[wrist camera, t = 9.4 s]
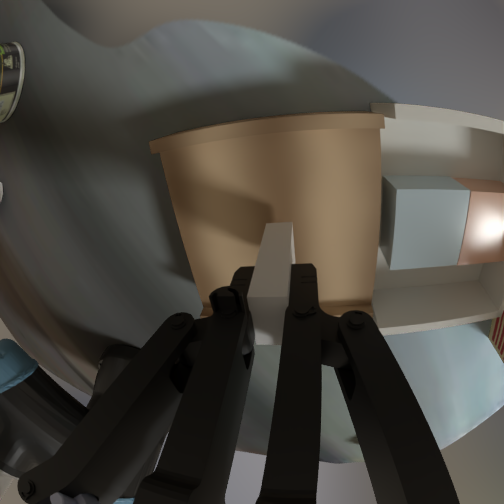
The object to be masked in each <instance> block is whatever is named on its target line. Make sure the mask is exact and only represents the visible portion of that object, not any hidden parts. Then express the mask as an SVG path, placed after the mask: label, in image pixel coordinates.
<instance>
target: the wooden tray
mask: <svg viewBox="0 0 504 504" xmlns="http://www.w3.org/2000/svg"><path fill="white" fill-rule="evenodd" d="M380 129H385V120H384V114H381V113H374V112H367V111H340V112H315V113H299V114H287V115H277V116H268V117H260V118H252V119H245V120H239V121H232V122H226V123H221V124H215V125H210V126H205V127H200V128H195V129H191V130H186V131H182V132H177V133H174V134H171V135H167V136H164V137H161V138H158V139H155V140H152V141H149V146H150V150H151V154H155V153H159V152H160V156H161V161H162V165H163V169H164V173H165V177H166V181H167V185H168V189H169V193H170V197H171V201H172V205H173V208H174V212H175V216H176V219H177V223H178V226H179V230H180V233H181V237H182V240H183V244H184V247H185V251H186V254H187V257H188V260H189V264H190V267H191V270H192V273H193V276H194V280H195V283H196V286H197V289H198V292H199V295H200V298H201V301H202V304H203V307H204V308H203V310H202V313H201V315H200V317H201V318H205V317H209V316H211V315H212V314H213V309H212V306H211V303H210V300H209V295H210V294H211V292H213V291H214V290H215V289H217V288H220V287H223V286H230V283H231V281H232V278H233V275H234V272H235V271H236V270H237V269H239V268H240V267H243V266H255V264H256V260H257V257H258V253H259V249H260V245H261V241H262V238H263V234H264V230H265V226H266V223H280V222H292V225H293V237H294V250H295V264H303V263H312V264H313V265H314V266H315V268H316V269H317V283H318V299H319V306H320V308H321V309H322V310H323V311H324V312H325V313H327V314H329V315H332V316H336V317H340V316H342V315H343V314H344V313H345V312H348V311H351V310H359V311H364V312H366V313H368V314H369V315H370V316H371V317H372V318H373V314H374V313H373V309H372V305H371V303H372V296H373V289H374V282H375V274H376V265H377V255H378V244H379V231H380V214H381V139H380Z"/></svg>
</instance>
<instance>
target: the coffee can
mask: <svg viewBox="0 0 504 504" xmlns="http://www.w3.org/2000/svg"><path fill="white" fill-rule="evenodd" d="M24 74H25V56H24V51H23V48H22V46H21V45H20V44H19V43H17V42H12V43H6V44H0V122H4V121H6V120H8V119H9V118H10V116H11V115H12V113H13V112H14V110H15V108H16V106H17V103H18V101H19V98H20V94H21V91H22V86H23V81H24Z"/></svg>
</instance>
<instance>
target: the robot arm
mask: <svg viewBox="0 0 504 504" xmlns="http://www.w3.org/2000/svg"><path fill="white" fill-rule="evenodd" d="M209 300H210V303H211V306H212V309H213V314H212V315H211V316H209V317H205V318H201V319H196V320H194V318H193V316H192V315H191V314H189V313H183V312H181V313H176V314H174V315H172V316H170V317H169V318H168V319H166V320H165V322H164V323H163V324H162V325H161V326H160V327H159V329H158V330H157V331H156V332H155V333H154V334H153V336H152V337H151V338H150V339H149V340H148V341H147V343H146V344H145V345H144V346H143V347H142V348H141V350H139V349H136V348H133V347H129V346H124V345H112V346H109V347H108V348H107V349H106V350H105V352H104V353H103V355H102V356H101V358H100V360H99V364H98V368H99V370H98V373H97V376H96V380H95V385H94V391H93V395H92V397H91V399H90V401H89V403H88V405H87V407H85V406H83V405H82V404H81V403H80V402H79V401H77V400H76V399H75V398H74V397H72V396H71V395H70V394H69V393H68V392H66V391H65V390H64V389H63V388H62V387H61V386H59V385H58V384H57V383H56V382H55V381H54V380H53V379H52V378H51V377H50V376H49V375H47V374H46V372H45V371H44V370H43V369H42V368H40V366H39V365H38V363H37V361H36V360H35V359H32V358H31V357H30V356H29V355H28V354H27V353H26V352H25V351H24V350H23V349H22V348H21V347H20V346H19V345H18V344H17V343H16V342H14V341H13V340H11V339H2V340H0V501H1V499H2V497H3V496H4V494H5V492H6V491H7V489H8V487H9V485H10V484H11V482H12V481H13V479H18V491H19V495H20V496H21V498H22V499H23V500H24V501H25V502H26V503H28V504H225V493H226V489H227V484H228V480H229V475H230V471H231V467H232V462H233V458H234V453H235V448H236V444H237V439H238V434H239V430H240V425H241V420H242V415H243V410H244V406H245V401H246V396H247V391H248V386H249V381H250V376H251V371H252V365H253V360H254V355H255V353H254V346H253V345H254V340H256V345H282V346H281V355H280V363H279V372H278V380H277V388H276V396H275V403H274V410H273V417H272V424H271V431H270V438H269V444H268V451H267V457H266V464H265V469H264V475H263V480H262V486H261V491H260V495H259V497H258V499H257V501H256V504H316V493H317V481H318V469H319V454H320V433H321V391H322V371H321V364H323V365H327V366H331V367H334V370H335V373H336V376H337V378H338V381H339V384H340V387H341V390H342V393H343V396H344V399H345V401H346V404H347V407H348V410H349V413H350V416H351V419H352V422H353V425H354V428H355V432H356V435H357V438H358V441H359V444H360V447H361V450H362V454H363V457H364V460H365V463H366V467H367V470H368V473H369V477H370V480H371V483H372V487H373V490H374V494H375V497H376V501H377V504H460V503H459V500H458V497H457V494H456V491H455V488H454V485H453V483H452V480H451V477H450V475H449V472H448V470H447V467H446V465H445V462H444V459H443V457H442V454H441V452H440V450H439V447H438V445H437V443H436V440H435V438H434V436H433V433H432V431H431V429H430V427H429V425H428V422H427V420H426V418H425V416H424V414H423V412H422V410H421V408H420V405H419V403H418V401H417V399H416V397H415V395H414V393H413V391H412V389H411V387H410V385H409V383H408V381H407V380H406V378H405V376H404V374H403V372H402V370H401V368H400V366H399V364H398V362H397V361H396V359H395V357H394V355H393V353H392V351H391V350H390V348H389V346H388V344H387V342H386V341H385V339H384V337H383V335H382V334H381V332H380V330H379V328H378V327H377V325H376V323H375V322H374V320H373V318H372V317H371V316H370V315H369V314H368V313H366V312H364V311H359V310H351V311H348V312H345V313H344V314H343V315H342V316H340V317H336V316H332V315H329V314H327V313H325V312H324V311H323V310H322V309H321V308H320V306H319V299H318V283H317V269H316V268H315V266H314V265H313V264H312V263H303V264H295V250H294V237H293V225H292V222H280V223H266V226H265V230H264V234H263V238H262V241H261V245H260V249H259V253H258V257H257V260H256V264H255V266H243V267H240V268H239V269H237V270H236V271H235V272H234V275H233V278H232V281H231V283H230V286H223V287H220V288H217V289H215V290H214V291H213V292H211V294H210V295H209ZM168 432H169V433H168ZM167 433H168V437H167V439H166V442H165V445H164V448H163V451H162V453H161V456H160V459H159V462H158V465H157V467H156V470H155V471H154V468H155V465H156V462H157V459H158V457H159V454H160V450H161V448H162V445H163V442H164V440H165V437H166V435H167ZM153 471H154V472H153Z"/></svg>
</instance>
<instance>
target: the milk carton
mask: <svg viewBox="0 0 504 504" xmlns="http://www.w3.org/2000/svg"><path fill="white" fill-rule="evenodd" d="M488 338H489V340H490V341H491V343H492V344H493V346H494V348H495V349H496V351H497V353H498V354H499V356H500V358H501V360H502V361H503V363H504V311H503V313H502V315H501V317H497V318H493V319H492V323H491V328H490V332H489V337H488Z"/></svg>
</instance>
